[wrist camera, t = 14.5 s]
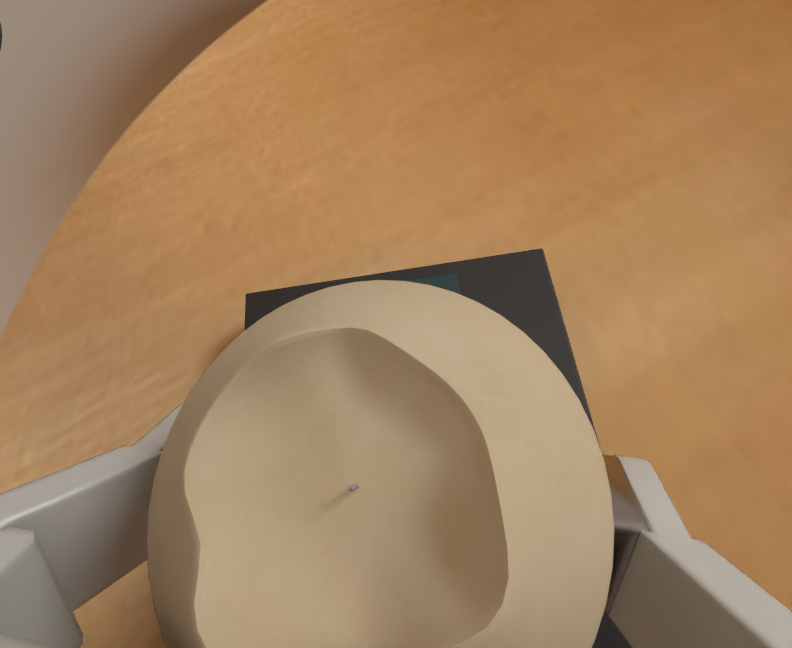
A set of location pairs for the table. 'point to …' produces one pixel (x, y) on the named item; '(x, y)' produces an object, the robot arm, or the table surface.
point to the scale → (497, 290)
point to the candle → (381, 485)
